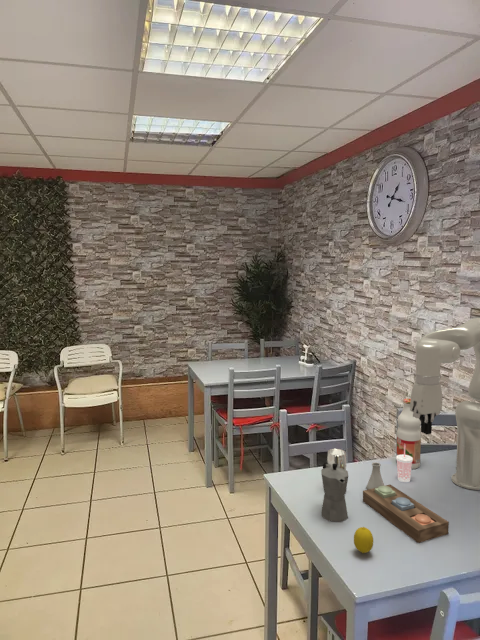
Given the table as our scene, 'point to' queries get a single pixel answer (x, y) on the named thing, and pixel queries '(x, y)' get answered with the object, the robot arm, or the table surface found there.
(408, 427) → the fruit juice
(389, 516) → the button panel
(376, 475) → the flask
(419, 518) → the terracotta button
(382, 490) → the sage green button
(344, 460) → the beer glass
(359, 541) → the lemon
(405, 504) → the slate blue button
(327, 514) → the coffeepot
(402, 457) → the beverage cup
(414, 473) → the table surface
